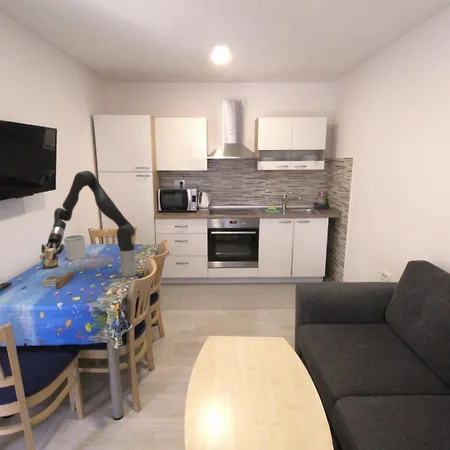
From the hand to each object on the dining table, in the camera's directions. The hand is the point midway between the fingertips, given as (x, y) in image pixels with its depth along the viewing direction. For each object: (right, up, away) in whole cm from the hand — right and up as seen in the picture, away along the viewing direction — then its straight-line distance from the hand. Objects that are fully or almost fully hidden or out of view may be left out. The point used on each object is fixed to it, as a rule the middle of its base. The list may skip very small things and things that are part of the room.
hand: (49, 259), depth 193 cm
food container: (-18, -10, +34) cm, 40 cm away
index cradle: (0, -15, +5) cm, 16 cm away
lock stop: (0, -4, +3) cm, 5 cm away
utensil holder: (-10, -5, +57) cm, 58 cm away
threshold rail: (+7, -15, +5) cm, 17 cm away
